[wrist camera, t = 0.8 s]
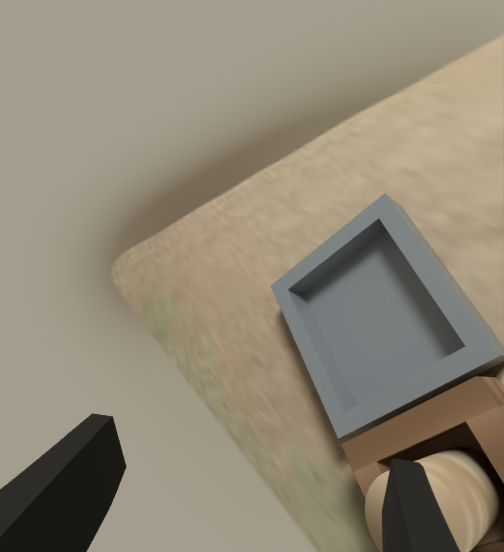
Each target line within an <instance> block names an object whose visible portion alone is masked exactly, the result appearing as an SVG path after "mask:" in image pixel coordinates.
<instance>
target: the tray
mask: <svg viewBox="0 0 504 552" xmlns="http://www.w3.org/2000/svg"><path fill="white" fill-rule="evenodd" d="M271 288H272V290H273V292H274V294H275V297H276V299H277V301H278V303H279V306H280V308H281V310H282V313H283V315H284V317H285V319H286V322H287V324H288V326H289V328H290V331H291V333H292V335H293V337H294V340H295V342H296V344H297V347H298V349H299V351H300V353H301V356H302V358H303V360H304V362H305V365H306V367H307V369H308V371H309V374H310V376H311V378H312V381H313V383H314V385H315V387H316V390H317V392H318V394H319V396H320V399H321V401H322V403H323V405H324V408H325V410H326V412H327V415H328V417H329V419H330V421H331V424H332V426H333V428H334V430H335V433H336V435H337V437H338V439H340V438H345V437H350V436H356V435H359V434H361V433H363V432H365V431H367V430H369V429H371V428H373V427H375V426H377V425H379V424H381V423H383V422H385V421H387V420H389V419H391V418H393V417H395V416H397V415H399V414H401V413H403V412H405V411H407V410H409V409H411V408H413V407H415V406H417V405H419V404H421V403H423V402H425V401H427V400H429V399H431V398H433V397H435V396H437V395H439V394H441V393H443V392H445V391H447V390H449V389H451V388H453V387H455V386H457V385H459V384H461V383H463V382H465V381H467V380H469V379H471V378H473V377H475V376H477V375H479V374H481V373H482V372H484V371H486V370H488V369H490V368H492V367H494V366H496V365H498V364H500V363H502V362H504V347H503V345H502V344H501V343H500V341H499V340H498V339H497V337H496V336H495V334H494V333H493V332H492V330H491V329H490V328H489V326H488V325H487V323H486V322H485V321H484V319H483V318H482V317H481V315H480V314H479V312H478V311H477V310H476V308H475V307H474V306H473V304H472V303H471V301H470V300H469V299H468V297H467V296H466V295H465V293H464V292H463V290H462V289H461V288H460V286H459V285H458V284H457V282H456V281H455V279H454V278H453V277H452V275H451V274H450V273H449V271H448V270H447V268H446V267H445V266H444V264H443V263H442V262H441V260H440V259H439V257H438V256H437V255H436V253H435V252H434V251H433V249H432V248H431V247H430V245H429V244H428V242H427V241H426V240H425V238H424V237H423V236H422V234H421V233H420V231H419V230H418V229H417V227H416V226H415V225H414V223H413V222H412V220H411V219H410V218H409V216H408V215H407V214H406V212H405V211H404V209H403V208H402V207H401V206H400V205H399V204H398V203H396V202H395V201H394V200H393V199H391V198H390V197H389V196H388V195H386V194H383V195H382V196H381V197H380V198H378V199H377V200H376V201H375V202H373V203H372V204H371V205H370V206H368V207H367V208H366V209H365V210H364V211H362V212H361V213H360V214H359V215H357V216H356V217H355V218H354V219H352V220H351V221H350V222H349V223H347V224H346V225H345V226H344V227H343V228H341V229H340V230H339V231H338V232H336V233H335V234H334V235H333V236H331V237H330V238H329V239H328V240H326V241H325V242H324V243H323V244H322V245H320V246H319V247H318V248H317V249H315V250H314V251H313V252H312V253H310V254H309V255H308V256H307V257H305V258H304V259H303V260H302V261H301V262H299V263H298V264H297V265H296V266H294V267H293V268H292V269H291V270H289V271H288V272H287V273H286V274H285V275H283V276H282V277H281V278H280V279H278V280H277V281H276V282H275V283H273V284H272V285H271Z"/></svg>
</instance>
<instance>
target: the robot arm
mask: <svg viewBox="0 0 504 552" xmlns="http://www.w3.org/2000/svg"><path fill="white" fill-rule="evenodd" d="M125 469H126V464H125V460H124V456H123V453H122V449H121V445H120V441H119V438H118V434H117V431H116V427H115V423H114V419H113V417H112V416H106V415H99V414H91V415H90V416H89V417H88V418H86V419H85V420H84V421H83V422H82V423H80V424H79V425H78V426H77V427H76V428H75V429H73V430H72V431H71V432H70V433H68V434H67V435H66V436H65V437H64V438H62V439H61V440H60V441H59V442H58V443H57V444H55V445H54V446H53V447H52V448H51V449H50V450H48V451H47V452H46V453H45V454H43V455H42V456H41V457H40V458H39V459H37V460H36V461H35V462H34V463H33V464H31V465H30V466H29V467H28V468H26V469H25V470H24V471H23V472H22V473H20V474H19V475H18V476H17V477H15V478H14V479H13V480H12V481H10V482H9V483H8V484H7V485H5V486H4V487H3V488H2V489H0V552H86V551H87V550H88V548H89V546H90V544H91V542H92V541H93V539H94V537H95V535H96V533H97V531H98V529H99V527H100V525H101V524H102V522H103V520H104V518H105V516H106V514H107V512H108V510H109V508H110V506H111V504H112V502H113V499H114V497H115V494H116V492H117V490H118V487H119V484H120V482H121V479H122V477H123V474H124V471H125ZM382 544H383V552H461V551H460V550H459V548H458V546H457V544H456V541H455V539H454V537H453V535H452V533H451V531H450V529H449V527H448V525H447V522H446V520H445V518H444V516H443V514H442V511H441V509H440V507H439V505H438V502H437V500H436V498H435V495H434V493H433V490H432V488H431V485H430V483H429V480H428V478H427V475H426V472H425V470H424V467H423V466H422V465H421V464H420V463H419V462H413V461H406V460H399V459H393V458H392V461H391V466H390V471H389V476H388V481H387V486H386V492H385V497H384V502H383V507H382Z"/></svg>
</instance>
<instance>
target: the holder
mask: <svg viewBox="0 0 504 552" xmlns="http://www.w3.org/2000/svg"><path fill="white" fill-rule="evenodd" d="M341 445H342V448H343V450H344V452H345V454H346V457H347V459H348V461H349V463H350V466H351V468H352V470H353V472H354V475H355V477H356V479H357V482H358V484H359V486H360V488H361V491H362V493H363V495H364V497H365V500H366V496H367V492H368V490H369V488H370V486H371V484H372V483H373V481H374V480H375V479H376V478H377V477H378V476H380V475H381V474H383V473H384V472H386V471H389V470H390V466H391V461H392V458H393V459H399V460H406V461H413V462H414V461H417V460H419V459H422V458H425V457H428V456H430V455H433V454H436V453H439V452H441V451H444V450H447V449H450V448H453V447H461V446H462V447H469V448H473V449H476V450H478V451H480V452H482V453H484V454H486V455H487V457H488V458H489V460H490V462H491V463H492V465H493V467H494V468H495V470H496V471H497V473H498V475H499V476H500V478H501V480H502V481H503V483H504V385H503V384H502V383H501V381H500V380H499V378H497V377H480V376H476V377H474V378H472V379H470V380H468V381H466V382H464V383H462V384H460V385H458V386H456V387H454V388H452V389H450V390H448V391H446V392H444V393H442V394H440V395H438V396H436V397H434V398H432V399H430V400H428V401H426V402H424V403H422V404H420V405H418V406H416V407H414V408H412V409H410V410H408V411H406V412H404V413H402V414H400V415H398V416H396V417H394V418H392V419H390V420H388V421H386V422H384V423H382V424H380V425H378V426H376V427H374V428H372V429H370V430H368V431H366V432H364V433H362V434H360V435H358V436H356V437H354V438H352V439H350V440H348V441H346V442H344V443H342V444H341ZM470 552H504V515H503V516H502V517H501V518H500V520H499V521H498V522H497V523H496V524H495V525H494V526H493V527H492V528H491V529H490V530H489V531H488V533H487V534H486V535H485V536H484V537H483V538H482V539H481V540H480V541H479V542H478V543H477V544H476V545H475V547H474V548H473V549H472V550H471V551H470Z"/></svg>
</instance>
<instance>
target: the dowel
mask: <svg viewBox="0 0 504 552" xmlns="http://www.w3.org/2000/svg"><path fill="white" fill-rule="evenodd" d="M414 462H419V463H420V464H421V465H422V466H423V467H424V470H425V472H426V475H427V478H428V480H429V483H430V485H431V488H432V490H433V493H434V495H435V498H436V500H437V502H438V505H439V507H440V509H441V511H442V514H443V516H444V518H445V520H446V522H447V525H448V527H449V529H450V531H451V533H452V535H453V537H454V539H455V541H456V544H457V546H458V548H459V550H460V551H461V552H470V551H471V550H472V549H473V548H474V547H475V545H476V544H477V543H478V542H479V541H480V540H481V539H482V538H483V537H484V536H485V535H486V534H487V533H488V531H489V530H490V529H491V528H492V527H493V526H494V525H495V524H496V523H497V522H498V521H499V520H500V518H501V517H502V516H503V515H504V483H503V481H502V480H501V478H500V476H499V475H498V473H497V471H496V470H495V468H494V467H493V465H492V463H491V462H490V460H489V458H488V457H487V455H486V454H484V453H482V452H480V451H478V450H476V449H473V448H469V447H462V446H461V447H453V448H450V449H447V450H444V451H441V452H439V453H436V454H433V455H430V456H428V457H425V458H422V459H419V460H417V461H414ZM389 471H390V470H389ZM389 471H386V472H384V473H383V474H381V475H380V476H378V477H377V478H376V479H375V480H374V481H373V483H372V484H371V486H370V488H369V490H368V492H367V496H366V501H365V518H366V523H367V527H368V530H369V533H370V536H371V538H372V540H373V542H374V544H375V545H376V547H377V549H378V550H379V552H383V544H382V507H383V502H384V497H385V492H386V486H387V481H388V476H389Z"/></svg>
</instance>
